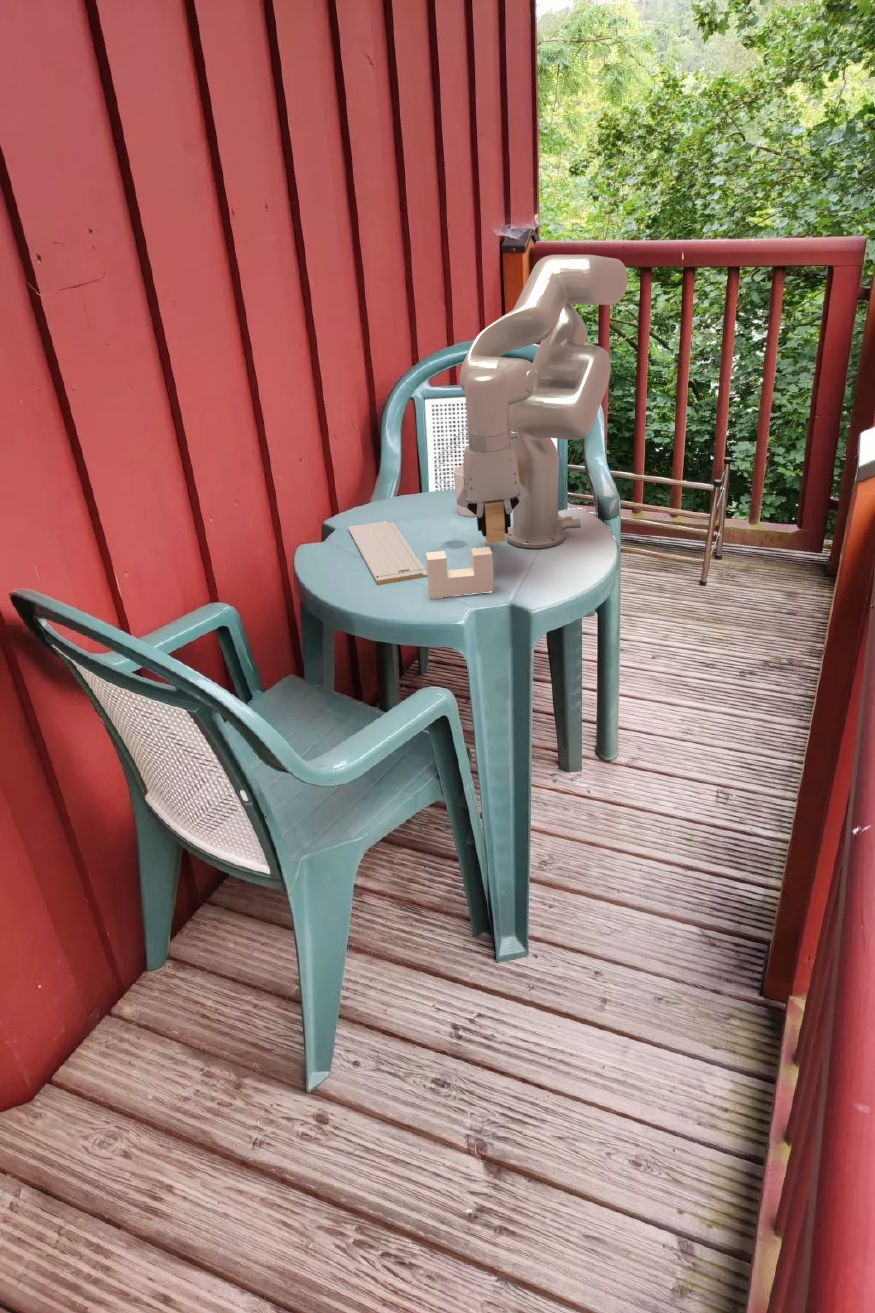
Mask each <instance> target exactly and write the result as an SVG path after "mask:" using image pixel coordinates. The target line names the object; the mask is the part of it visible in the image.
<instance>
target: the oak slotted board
mask: <svg viewBox="0 0 875 1313" xmlns="http://www.w3.org/2000/svg"><path fill="white" fill-rule="evenodd" d="M474 504H475V503H474ZM483 512H484V515H485V518H486V534H487V535H486V536H484V537H485V539H486V540H485V541H486V543H487V544H492V543H499V542H506V540H507V539H506V534H505V521H504V502H503V500H496V501H488V502H484V507H483Z"/></svg>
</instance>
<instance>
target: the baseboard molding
mask: <svg viewBox="0 0 875 1313" xmlns="http://www.w3.org/2000/svg"><path fill="white" fill-rule="evenodd" d="M348 529H349V530H348ZM347 530H348V532H349V531H350V532H349V534H350V533H351V534H350V536H351V535H352V536H351V538H352V537H353V538H352V539H354V540H353V542H354V541H355V542H354V544H355V545H356V547H357V549H358V551H359V552H360V555H361V557H362V558H363V561H364V562H365V564H366V565H367V568H368V569H369V572H370V573H371V575H372V577H373V579H374V580H375V583H376V584H377V585H385V584H391V583H397V582H403V581H409V580H410V581H411V580H414V579H415V580H416V579H420V578H425V577H426V578H428V576H427V569H426V568H425V566H424V565H423V564H422V562H421V560H420V559H419V557H418V556H417V554H415V552H414V550H413V549H412V547H411V546H410V544H409V543H408V542H407V540H406V539H405V537H404V536H403V534H402V533H401V532H400V530H399V529H398V527H397V525H396V524H395V523H394V521H391V522H390V521H388V520H383V521H377V522H370V523H366V524H365V523H362V524H358V525H357V524H356V525H351V526H347Z"/></svg>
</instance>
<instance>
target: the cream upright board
mask: <svg viewBox="0 0 875 1313" xmlns="http://www.w3.org/2000/svg"><path fill="white" fill-rule="evenodd" d="M470 552H471V553H470V556H471V558H470V559H471V567H469V568H467V567H466V568H459V569H457V568H456V569H448V560H447V559H448V558H447V555H446V551H445V550H440V551H432V552H431V551H429V552H425V556H426V557H425V558H426V560H425V561H426V571H427V589H428V591H427V592H428V595H429V599H430V600H437V599H444V598H443V597H448V596H454V595H464V594H472V593H482V592H489V591H493V592H494V571H493V570H494V565H493V563H494V561H493V552H492V550H491V547H490V546H483V547H473V548H470ZM448 598H449V597H448Z"/></svg>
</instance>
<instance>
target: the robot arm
mask: <svg viewBox="0 0 875 1313" xmlns="http://www.w3.org/2000/svg"><path fill="white" fill-rule="evenodd" d="M628 280H629V279H628V272H627V268H626V266H625V263H623V262H622V261H621V260H620V259H618V258H614V257H608V256H600V255H595V254H549V255H546V256H544V257H542V258H540V259H539V260H538V261H536V263H535V265H534V266H533V268H532V270H531V272H530V275H529V276H528V278H527V281H526V282H525V284H524V287H523V289H522V290H521V293H520V295H519V297H518V299H517V301H516V303H515V305H514V307H513V309H511V310H510V311H509V312H508V313H506V314H504V315H502V316H500V317H499V318H498V319H496V320H494V322H492V323H490V324H489V325H488V326H486V327H485V328H484V329H482V330H481V331H480V332H479V333H478V334H477V336H476V337H475V338H474V339H473V341H472V343H471V345H470V347H469V348H468V351H467V353H466V355H465V358H464V359H463V361H462V362H463V363H462V365H461V368H460V373H459V385H460V388H461V390H462V392H463V393H464V396H465V409H466V421H467V422H466V423H467V438H468V440H467V441H468V445H466V446H465V447H464V453H463V462H462V465H463V478H464V487H463V489H462V491H461V493H460V494H459V496H458V498H457V501H456V503H457V504H458V505H460V506H462V507H464V508H467V509H469V510H470V511H471V512H472V513H474V514H475V515H476V516H475V517H476V523H477V531H478V532H480V533H481V534H482V535H481V536H482V537H485V536H486V535H487V534H486V518H485V515H484V512H483V507H484V502H488V501H496V500H503V502H504V521H505V540H507V542H508V543H509V544H511V545H514V546H516V547H519V548H524V549H544V548H550V547H554V546H557V545H559V544H561V543H563V541H564V540H566V536H567V535H566V531H567V529H580V528H582V522H581V521H582V519H580V518H574V519H573V516H564V517H562V516H560V514H559V502H560V501H559V498H560V497H559V494H560V493H559V492H560V489H559V483H560V482H559V480H560V477H559V476H560V472H559V471H560V456H559V453H558V450H557V447H556V445H555V443H554V441H553V440H552V439H559V440H560V439H561V440H569V441H578V440H582V439H584V438H586V437H587V436H588V435H589V433H590V432H591V430H592V428H593V425H594V423H595V420H596V418H597V415H598V412H599V410H600V408H601V404H602V402H603V399H604V398H605V394H606V391H607V389H608V385H609V382H610V378H611V371H612V368H611V367H612V366H611V365H612V364H611V358H610V354H609V353H608V351H607V350H606V349H605V348H603V347H601V346H598V345H593V344H592V345H591V344H586V340H587V338H588V330H587V326H586V324H585V322H584V319H582V317H581V315H580V314H579V313H578V312H577V310H576V309H575V306H574V305H603V306H605V305H606V306H607V305H608V306H609V305H610V306H612V305H616V304H618V303H619V301H621V300H622V299H623V297H624V295H625V294H626V291H627V287H628ZM539 342H540V344H539V345H538V348H537V351H536V354H535V355H534V358H533V360H532V362H531V361H530V360H527V359H525V358H518V357H515V358H514V357H503V356H504V355H506V354H508V353H510V352H513V351H516V350H518V349H519V350H520V349H523V348H525V347H529V346H532V345H534V344H538V343H539ZM466 498H467V499H468V500H466ZM474 503H475V504H474ZM458 505H457V506H458ZM511 514H512V519H511ZM511 520H512V521H511ZM511 524H512V525H511Z"/></svg>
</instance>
